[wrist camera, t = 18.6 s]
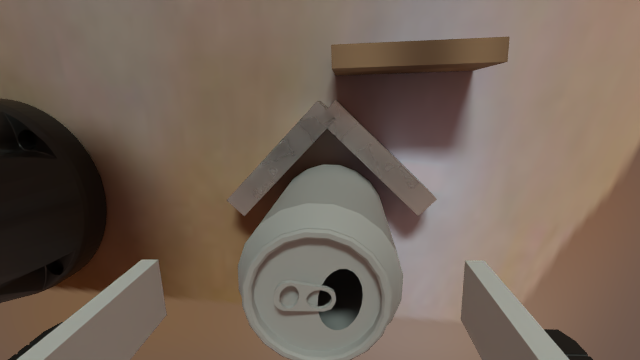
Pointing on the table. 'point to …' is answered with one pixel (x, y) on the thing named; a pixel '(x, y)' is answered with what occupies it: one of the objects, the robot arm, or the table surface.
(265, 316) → the can
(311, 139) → the v block
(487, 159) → the table surface
